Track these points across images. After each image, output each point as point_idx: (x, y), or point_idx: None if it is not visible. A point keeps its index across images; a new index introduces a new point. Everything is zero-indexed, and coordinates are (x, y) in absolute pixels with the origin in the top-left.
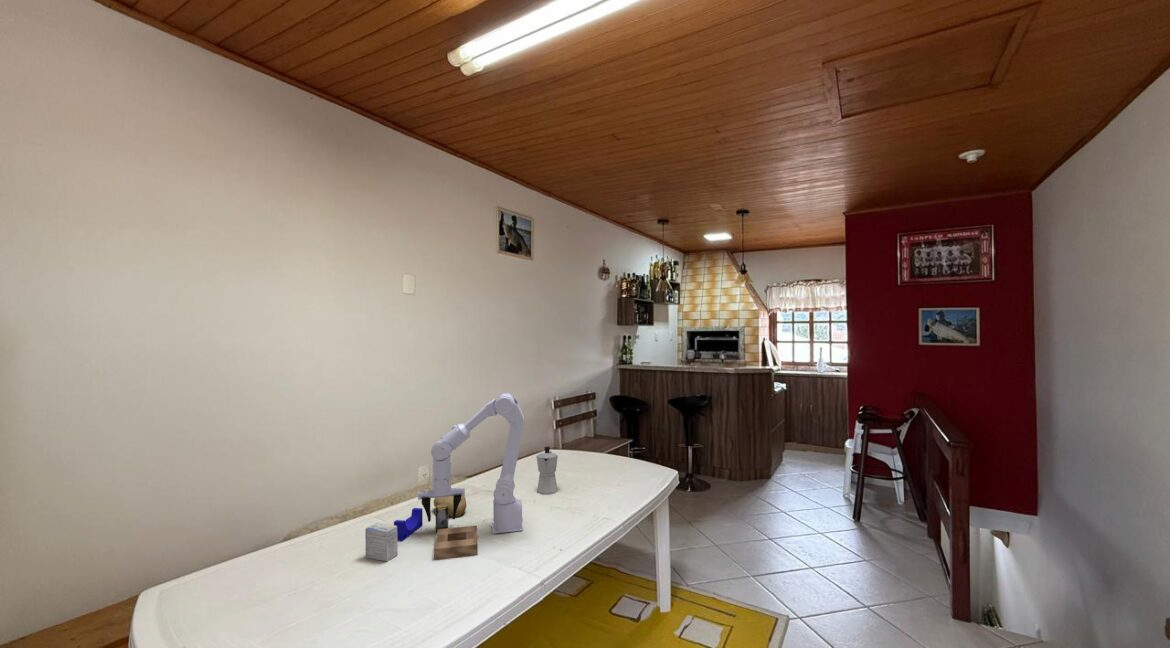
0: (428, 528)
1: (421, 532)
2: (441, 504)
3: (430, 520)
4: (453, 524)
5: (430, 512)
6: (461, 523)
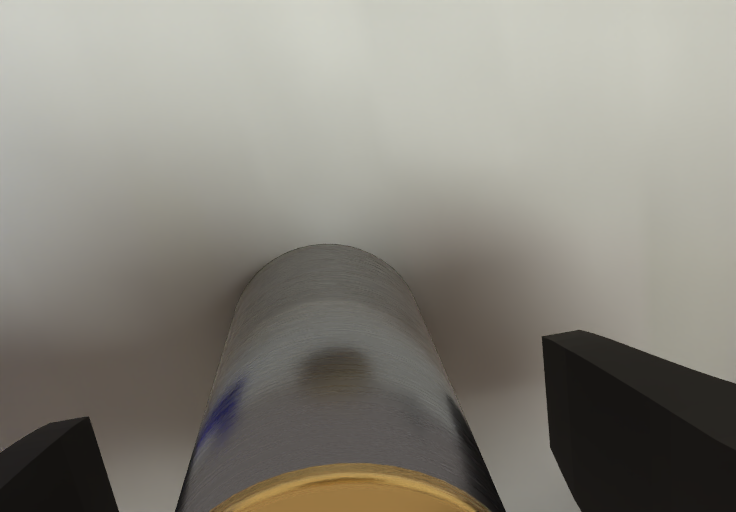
0: (71, 210)
1: (14, 353)
2: (286, 509)
3: (107, 476)
4: (464, 82)
5: (19, 502)
6: (595, 52)
